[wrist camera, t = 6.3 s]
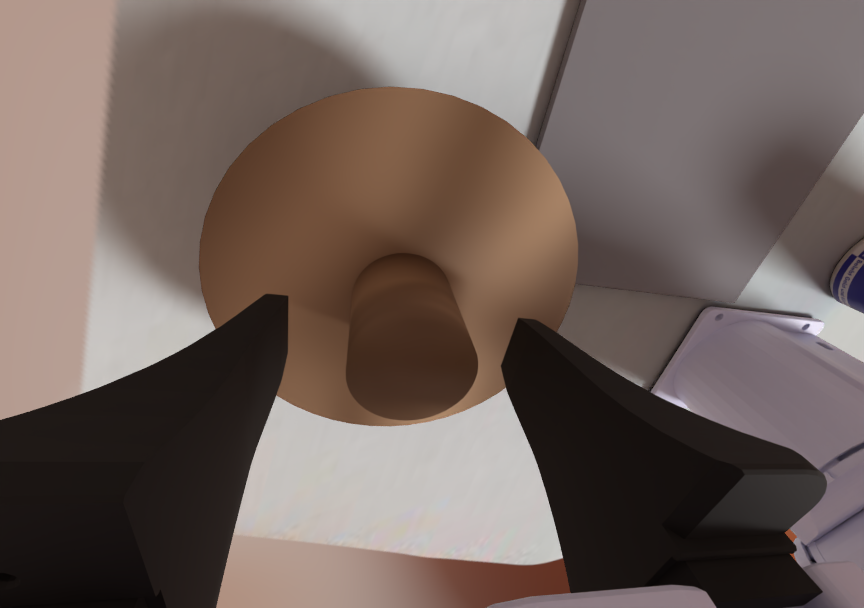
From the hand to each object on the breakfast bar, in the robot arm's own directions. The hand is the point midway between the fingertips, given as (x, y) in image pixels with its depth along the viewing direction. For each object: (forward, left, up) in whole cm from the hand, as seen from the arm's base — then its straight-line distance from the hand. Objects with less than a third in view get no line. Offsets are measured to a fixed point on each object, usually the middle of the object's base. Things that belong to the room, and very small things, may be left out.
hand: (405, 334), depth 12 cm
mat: (-13, -7, -7) cm, 16 cm away
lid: (0, 0, -3) cm, 3 cm away
